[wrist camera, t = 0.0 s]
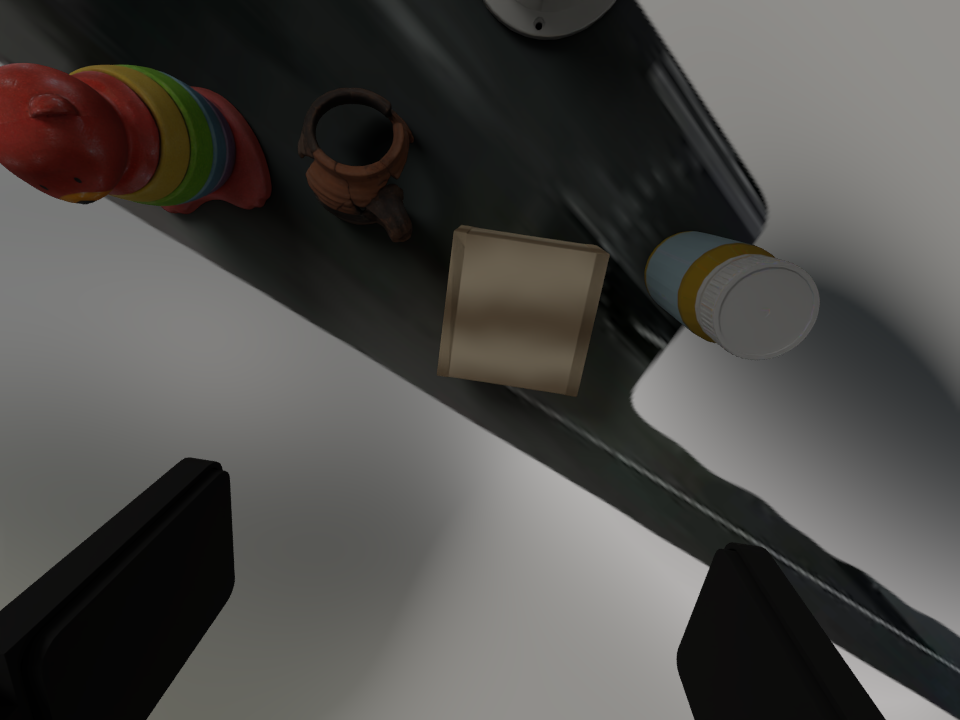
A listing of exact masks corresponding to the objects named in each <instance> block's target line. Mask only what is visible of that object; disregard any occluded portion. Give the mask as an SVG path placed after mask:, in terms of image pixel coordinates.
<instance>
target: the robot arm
mask: <svg viewBox="0 0 960 720" xmlns="http://www.w3.org/2000/svg"><path fill="white" fill-rule="evenodd" d="M482 1H483V3H484V4H485V6H486V7H487V9H488V10H489V11H490V12H491V13H492V14H493V16H494V17H495V18H496V19H497V20H498V21H499V22H501V23H502V24H503V25H505V26H506V27H507V28H509V29H510V30H511V31H514V32H516V33H518V34H520V35H523V36H525V37H529V38H534V39H539V40H557V39H561V38H565V37H569V36H572V35H575V34H577V33H579V32H581V31H583V30H585V29H587V28H588V27H590V26H591V25H592V24H594V23H595V22H597V21H598V20H599V19H601V18H602V17H603V16H604V14H605V13H606V12H607V11H608V10H609V9H610V8H611V7H612V6H613V5H614V3H615V2H616V0H482ZM537 24H541V25H542V29H541V30H537V29H536V28H535V26H536V25H537ZM234 582H235V573H234V553H233V532H232V512H231V492H230V476H229V474H228V472H226V471H223V470H222V466H221V464H220V463H218V462H215V461H209V460H202V459H196V458H184V459H183V460H181V461H180V462H179V463H177V464H176V465H175V466H174V467H173V468H171V469H170V470H169V471H168V472H167V473H165V474H164V475H163V476H162V477H161V478H159V479H158V480H157V481H156V482H155V483H153V484H152V485H151V486H150V487H149V488H147V489H146V490H145V491H144V492H143V493H141V494H140V495H139V496H138V497H137V498H135V499H134V500H133V501H132V502H131V503H129V504H128V505H127V506H126V507H125V508H123V509H122V510H121V511H120V512H119V513H118V514H116V515H115V516H114V517H112V518H111V519H110V520H109V521H108V522H106V523H105V524H104V525H103V526H102V527H101V528H99V529H98V530H97V531H96V532H94V533H93V534H92V535H91V536H90V537H89V538H87V539H86V540H85V541H84V542H82V543H81V544H80V545H79V546H78V547H76V548H75V549H74V550H73V551H72V552H71V553H69V554H68V555H67V556H66V557H64V558H63V559H62V560H61V561H60V562H58V563H57V564H56V565H55V566H54V567H52V568H51V569H50V570H49V571H48V572H46V573H45V574H44V575H43V576H42V577H41V578H39V579H38V580H37V581H36V582H34V583H33V584H32V585H31V586H30V587H28V588H27V589H26V590H25V591H24V592H22V593H21V594H20V595H19V596H18V597H17V598H15V599H14V600H13V601H11V602H10V603H9V604H8V605H7V606H5V607H4V608H3V609H2V610H1V611H0V720H146V719H147V718H148V716H149V715H150V713H151V712H152V711H153V709H154V708H155V706H156V704H157V703H158V702H159V700H160V699H161V697H162V696H163V694H164V693H165V691H166V690H167V688H168V687H169V686H170V684H171V683H172V681H173V680H174V678H175V677H176V675H177V674H178V673H179V671H180V669H181V668H182V667H183V665H184V664H185V662H186V661H187V659H188V658H189V656H190V655H191V654H192V652H193V651H194V649H195V648H196V646H197V645H198V643H199V642H200V640H201V639H202V637H203V636H204V635H205V633H206V632H207V630H208V628H209V627H210V626H211V624H212V623H213V621H214V620H215V619H216V617H217V616H218V614H219V613H220V611H221V610H222V608H223V607H224V605H225V604H226V602H227V601H228V599H229V597H230V595H231V593H232V590H233V587H234ZM677 668H678V672H679V676H680V679H681V681H682V684H683V687H684V690H685V693H686V696H687V699H688V702H689V705H690V708H691V711H692V714H693V716H694V719H695V720H886V719H885V718H884V717H883V715H882V714H881V712H880V711H879V710H878V708H877V707H876V705H875V704H874V702H873V701H872V699H871V698H870V697H869V695H868V694H867V692H866V691H865V689H864V688H863V687H862V685H861V684H860V682H859V681H858V679H857V678H856V677H855V675H854V674H853V672H852V671H851V669H850V668H849V666H848V665H847V664H846V662H845V661H844V660H843V658H842V656H841V655H840V654H839V652H838V651H837V649H836V648H835V646H834V645H833V643H832V642H831V641H830V639H829V638H828V636H827V635H826V633H825V632H824V631H823V629H822V628H821V626H820V625H819V623H818V622H817V621H816V619H815V618H814V616H813V615H812V613H811V612H810V611H809V609H808V608H807V606H806V605H805V603H804V602H803V601H802V599H801V598H800V596H799V595H798V593H797V592H796V591H795V589H794V588H793V586H792V585H791V583H790V582H789V581H788V579H787V578H786V576H785V575H784V573H783V572H782V570H781V569H780V568H779V566H778V565H777V563H776V562H775V560H774V559H773V558H772V556H771V555H770V553H769V552H768V551H767V550H766V549H765V548H763V547H759V546H752V545H746V544H740V543H729V544H727V545H726V547H725V548H724V549H719V550H717V552H716V553H715V555H714V558H713V561H712V563H711V566H710V568H709V571H708V573H707V576H706V579H705V581H704V584H703V586H702V589H701V591H700V595H699V597H698V599H697V602H696V604H695V607H694V610H693V612H692V615H691V617H690V620H689V622H688V625H687V627H686V630H685V633H684V636H683V638H682V640H681V643H680V645H679V648H678V652H677Z"/></svg>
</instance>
